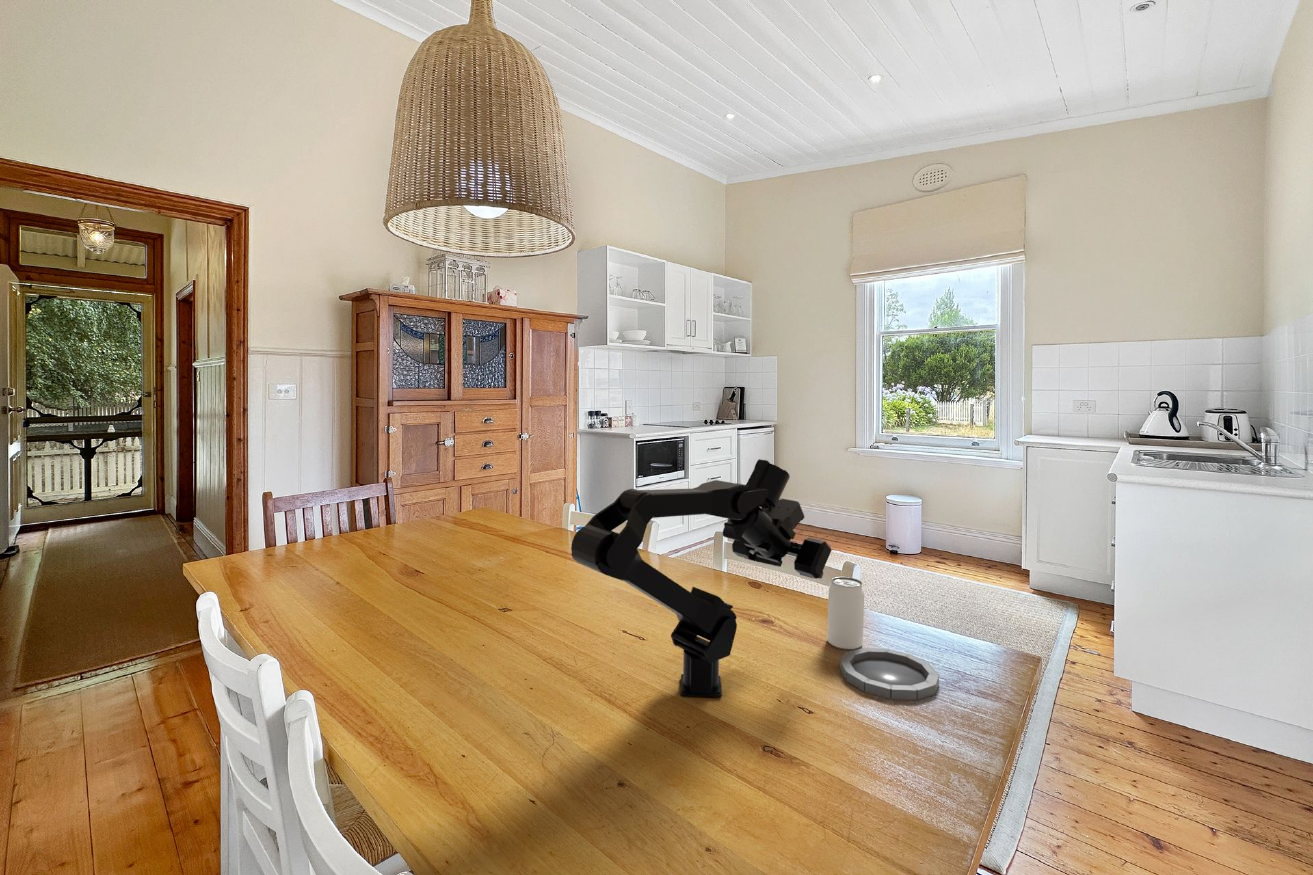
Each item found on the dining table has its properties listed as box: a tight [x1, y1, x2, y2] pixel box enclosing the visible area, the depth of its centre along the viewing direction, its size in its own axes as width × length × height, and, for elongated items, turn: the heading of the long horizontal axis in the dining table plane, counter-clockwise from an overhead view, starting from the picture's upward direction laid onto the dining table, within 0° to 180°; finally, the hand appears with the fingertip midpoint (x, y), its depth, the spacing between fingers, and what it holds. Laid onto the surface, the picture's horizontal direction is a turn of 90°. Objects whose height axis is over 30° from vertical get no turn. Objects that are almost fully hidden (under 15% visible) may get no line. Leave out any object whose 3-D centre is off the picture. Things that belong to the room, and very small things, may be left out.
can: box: [826, 576, 865, 651], centre depth 113 cm, size 6×6×12 cm
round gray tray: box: [839, 647, 940, 701], centre depth 101 cm, size 15×15×2 cm
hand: (800, 569), depth 112 cm, fingers open, 9 cm apart
